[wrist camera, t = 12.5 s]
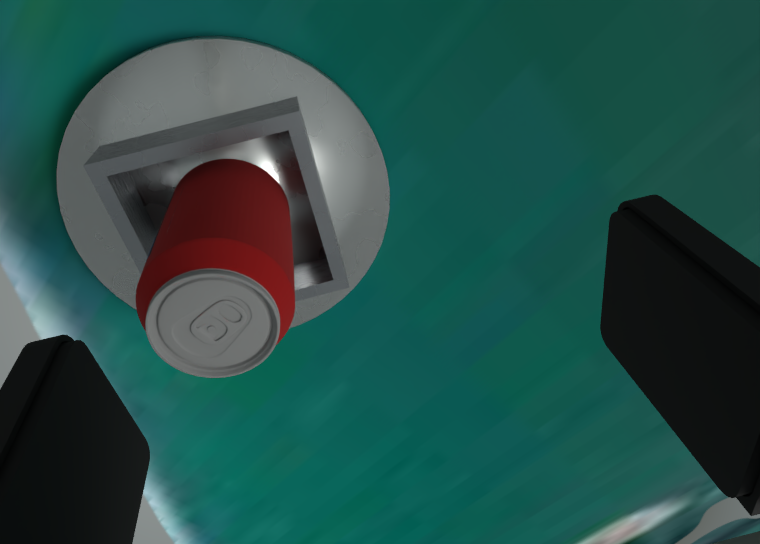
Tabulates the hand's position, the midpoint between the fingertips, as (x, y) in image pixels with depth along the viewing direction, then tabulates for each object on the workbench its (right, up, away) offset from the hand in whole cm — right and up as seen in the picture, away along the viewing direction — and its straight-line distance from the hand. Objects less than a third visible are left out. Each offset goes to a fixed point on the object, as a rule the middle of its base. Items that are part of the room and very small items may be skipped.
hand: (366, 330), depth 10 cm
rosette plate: (-9, +5, +24) cm, 26 cm away
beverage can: (-9, +5, +23) cm, 25 cm away
